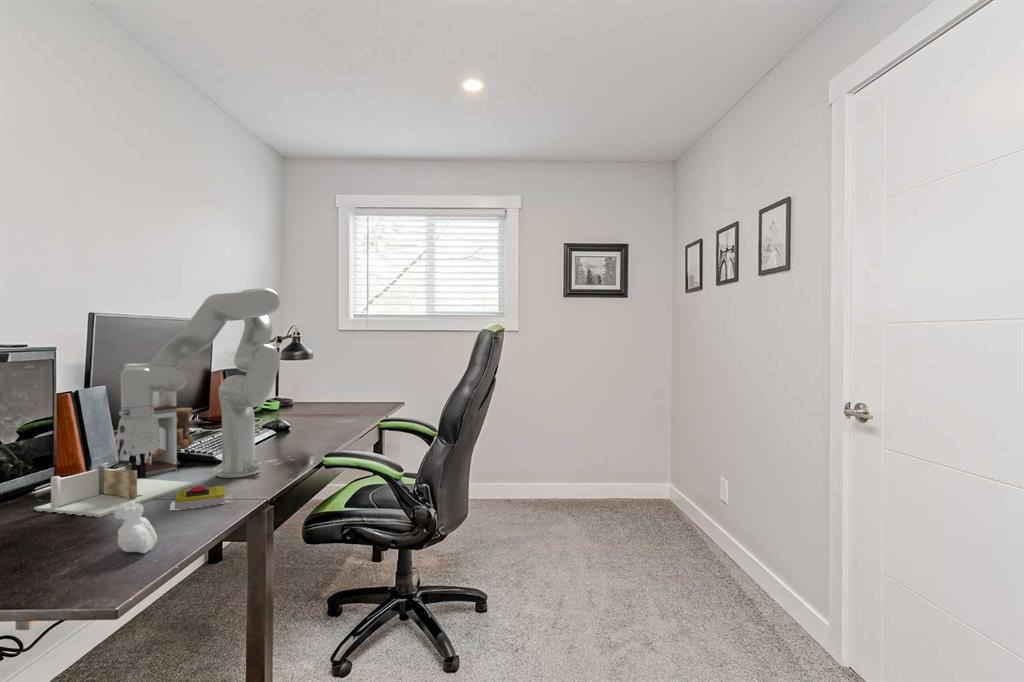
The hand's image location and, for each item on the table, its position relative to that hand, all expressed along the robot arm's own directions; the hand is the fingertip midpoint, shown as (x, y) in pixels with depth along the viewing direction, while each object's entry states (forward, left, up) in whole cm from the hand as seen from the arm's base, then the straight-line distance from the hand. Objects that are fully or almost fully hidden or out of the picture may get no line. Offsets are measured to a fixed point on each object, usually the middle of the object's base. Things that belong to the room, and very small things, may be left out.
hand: (138, 477), depth 153 cm
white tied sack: (-33, +31, -5) cm, 46 cm away
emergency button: (-22, +1, -6) cm, 23 cm away
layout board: (+3, +3, -5) cm, 7 cm away
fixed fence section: (+9, +9, -4) cm, 14 cm away
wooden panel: (+2, +4, -4) cm, 6 cm away
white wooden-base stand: (+20, -23, -5) cm, 31 cm away
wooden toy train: (+30, -42, -5) cm, 52 cm away
